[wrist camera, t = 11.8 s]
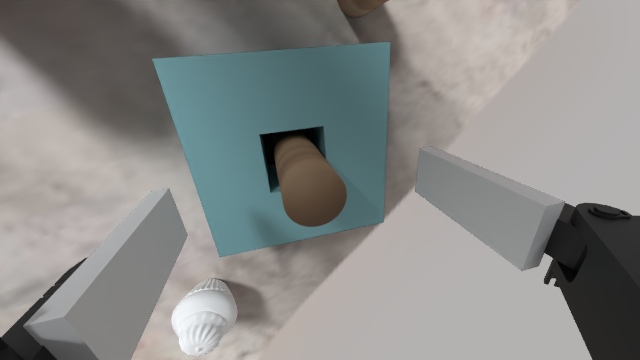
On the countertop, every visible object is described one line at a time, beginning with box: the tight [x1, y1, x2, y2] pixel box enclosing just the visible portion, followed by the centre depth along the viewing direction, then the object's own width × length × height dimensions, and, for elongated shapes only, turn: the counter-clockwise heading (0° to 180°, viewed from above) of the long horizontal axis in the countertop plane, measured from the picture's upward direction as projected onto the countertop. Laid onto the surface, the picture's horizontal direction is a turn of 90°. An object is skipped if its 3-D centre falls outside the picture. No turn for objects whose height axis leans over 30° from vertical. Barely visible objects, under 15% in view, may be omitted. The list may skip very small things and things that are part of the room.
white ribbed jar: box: [171, 279, 238, 356], centre depth 24 cm, size 6×6×7 cm
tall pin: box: [271, 129, 347, 227], centre depth 17 cm, size 3×3×12 cm
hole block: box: [152, 42, 391, 257], centre depth 20 cm, size 14×14×6 cm
